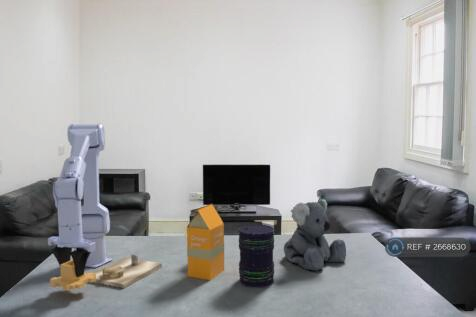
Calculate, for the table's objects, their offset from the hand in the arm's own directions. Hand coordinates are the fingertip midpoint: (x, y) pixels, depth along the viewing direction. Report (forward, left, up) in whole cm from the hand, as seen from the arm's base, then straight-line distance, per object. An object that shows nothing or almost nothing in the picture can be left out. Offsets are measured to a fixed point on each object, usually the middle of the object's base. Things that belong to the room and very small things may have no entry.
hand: (72, 274), depth 119 cm
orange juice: (+25, +27, -5) cm, 37 cm away
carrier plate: (+3, +17, -5) cm, 18 cm away
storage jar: (+41, +27, -5) cm, 49 cm away
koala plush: (+50, +50, -6) cm, 71 cm away
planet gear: (0, 0, -2) cm, 2 cm away
